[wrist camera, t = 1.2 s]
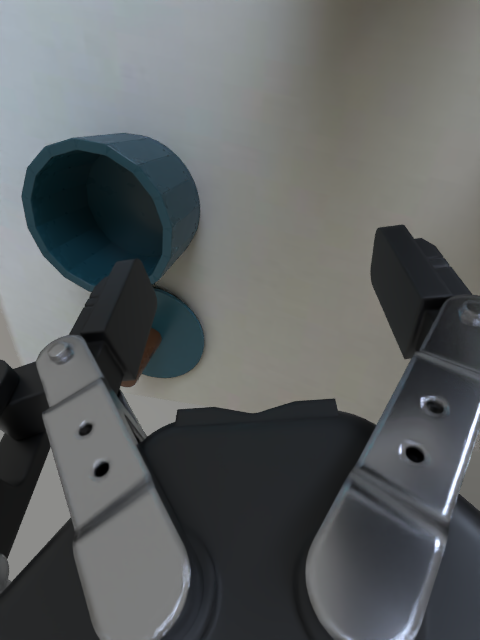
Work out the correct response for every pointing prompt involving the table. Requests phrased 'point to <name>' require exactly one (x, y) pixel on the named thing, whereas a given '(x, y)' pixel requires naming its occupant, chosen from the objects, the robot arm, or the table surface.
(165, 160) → the pot
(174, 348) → the lid
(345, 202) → the table surface
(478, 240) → the table surface
